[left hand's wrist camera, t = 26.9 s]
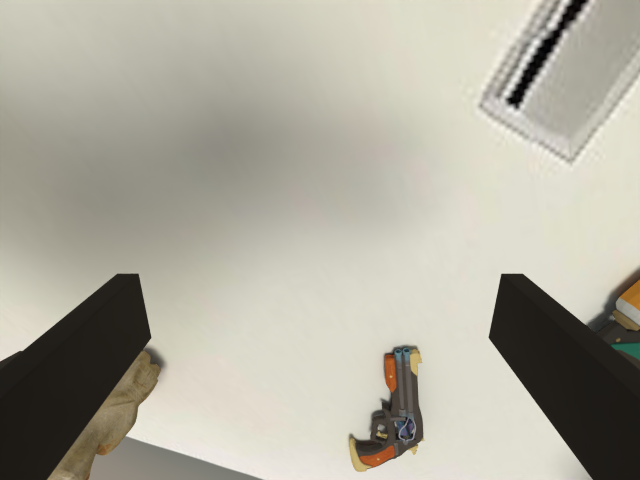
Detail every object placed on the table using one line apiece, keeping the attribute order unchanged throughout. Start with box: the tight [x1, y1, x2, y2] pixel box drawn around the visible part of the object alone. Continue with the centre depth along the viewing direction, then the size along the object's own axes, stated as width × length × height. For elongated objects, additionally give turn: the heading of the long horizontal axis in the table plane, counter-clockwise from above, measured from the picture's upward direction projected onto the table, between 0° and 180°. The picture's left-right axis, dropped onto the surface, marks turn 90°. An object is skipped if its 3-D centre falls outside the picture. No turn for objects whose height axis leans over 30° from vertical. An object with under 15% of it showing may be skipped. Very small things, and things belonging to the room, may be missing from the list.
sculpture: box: [47, 351, 161, 480], centre depth 36 cm, size 6×7×15 cm
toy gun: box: [349, 348, 424, 472], centre depth 46 cm, size 3×19×10 cm
